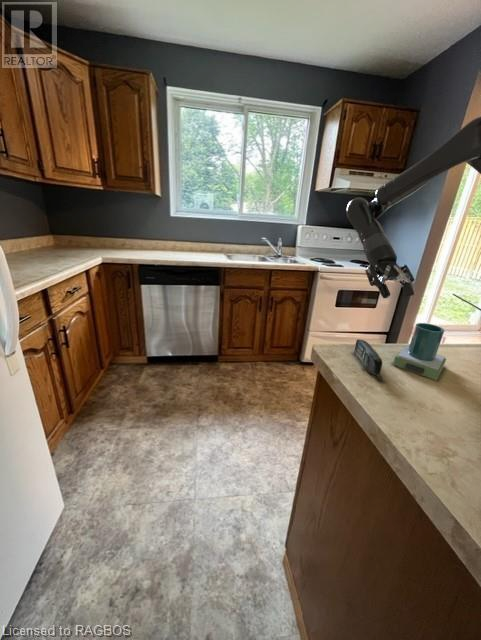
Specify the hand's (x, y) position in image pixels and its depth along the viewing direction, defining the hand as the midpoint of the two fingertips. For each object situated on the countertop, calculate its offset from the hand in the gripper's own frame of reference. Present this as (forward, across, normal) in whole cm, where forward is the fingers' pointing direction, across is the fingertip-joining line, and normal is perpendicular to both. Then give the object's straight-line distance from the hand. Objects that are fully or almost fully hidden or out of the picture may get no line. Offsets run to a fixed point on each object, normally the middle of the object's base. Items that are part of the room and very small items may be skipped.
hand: (399, 296), depth 79 cm
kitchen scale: (+20, 0, +3) cm, 20 cm away
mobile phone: (+18, -14, +6) cm, 24 cm away
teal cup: (+18, 0, +1) cm, 18 cm away
